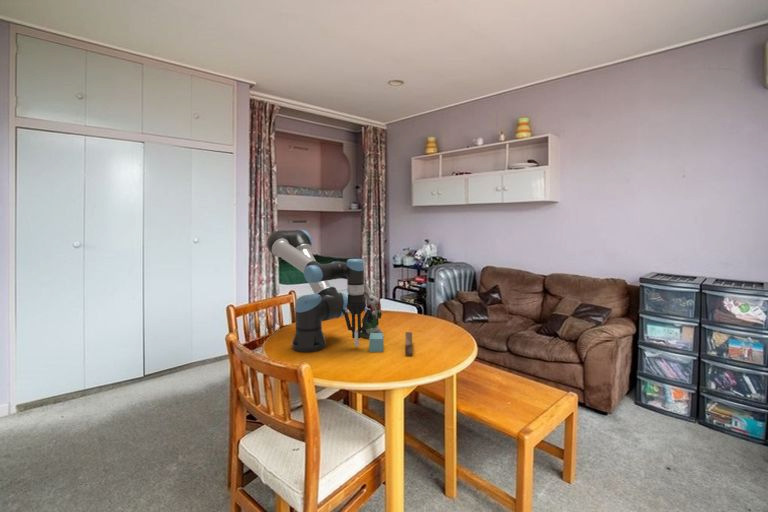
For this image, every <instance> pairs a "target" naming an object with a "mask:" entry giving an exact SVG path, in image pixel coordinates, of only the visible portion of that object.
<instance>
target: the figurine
mask: <svg viewBox="0 0 768 512" xmlns="http://www.w3.org/2000/svg"><path fill="white" fill-rule="evenodd" d="M363 294H364V299H365V300H366V301H365V305H366V307H367V308H368V309H369V308H370V312H369V314H368V317H367V321H366V326H365V329H364V330H362V331H361V338H362V339H366V340H369V338H370V333H383V332H382V329H381V328H380V327H379V319H382V315H383V314H382V306H381V305H382V304H381V301H380V298H379V297H376V296H375V295H372V290H371V289H370V287H369V286H368V285H364V293H363ZM364 317H365V314H363V317H361V325H363V321H364Z"/></svg>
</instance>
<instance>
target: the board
mask: <svg viewBox="0 0 768 512" xmlns="http://www.w3.org/2000/svg"><path fill="white" fill-rule="evenodd" d="M404 339H405V342H404V343H405V345H404V348H405V349H404V352H405V353H404V354H405V355H404V356H405V357H413V332H411V331H406V332H405V338H404Z"/></svg>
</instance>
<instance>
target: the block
mask: <svg viewBox="0 0 768 512" xmlns="http://www.w3.org/2000/svg"><path fill="white" fill-rule="evenodd" d="M368 341H369V342H368V347H369V349H368V350H369V351H368V352H369V353H384V347H385V345H384V343H385V341H384V332H382V333H370V338H369V339H368Z"/></svg>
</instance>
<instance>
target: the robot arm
mask: <svg viewBox="0 0 768 512" xmlns="http://www.w3.org/2000/svg"><path fill="white" fill-rule="evenodd" d="M312 240H313V239H312V236H311V235H310V233H309V232H308V231H306V230H304V229H299V228H298V229H293V230H292V229H291V230H290V229H287V230H286V229H285V230H284V229H283V230H280V229H279V230H276V231H272V233H271V234H269V235H268V238H267V240H266V247H267V250H268V251H269V253H270V254H271V255H273V256H275V257H277V258H281V259H282V260H284V261H285V262H286V263H288V264H289V265H291V266H293V267H294V268H296V269H297V270H298V271H300V272H301V273H303V276H304V279H305V281H306V282H307V283H308V284H309V286H310V288H311V289H312V292H313V293H311V294H305V295H302V296H299V297H298V298H297V299H295V302H294V303H295V304H294V312H295V313H294V316H295V319H294V320H295V332H294V336H293V340H292V343H291V345H292V347H291V348H292V350H293V351H295V352H300V353H312V352H317V351H321V350H324V349H325V348H326V347H327V340H326V337H325V335H324V331H323V329H322V328H323V326H322V324H323V323H322V322H325V321H330V320H334V319H339V318H342V317H344V321H345V323H346V326H347V330H348V331H351V335H352V336H351V338H352V339H354V347H359V344H360V340H359V339H361V338H362V337H361V332H362V330H364V329H365V326H366V321H367V317H368V314H369V312H370V308H369V309H368V308H367V304H366V301H365V298H364V294H363V293H364V290H365V262H364V260H363V259H361V258H349V259H347V260H346V262H344V261H339V260H338V261H332V262H329V263H320V262H318V261H317V260H316V258H315V257H314V255H313V253H312V252H311V251H312V247H313V241H312ZM340 279H341V280H342V279H343V280H347V281H346V282H347V283H346V284H347V285H346V287H347V290H346V291H347V295H346V293H344V292H341V291H340V292H339V291H338V290H337V288H336V287H335V286H331V285H330V282H329V281H332V280H340ZM348 311H349V313H350V314H351V320H350V318H349V313H348ZM363 312H364V315H365V317H364V316H363V317H364V321H363V324H362V313H363ZM356 317H357V329H356Z"/></svg>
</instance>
